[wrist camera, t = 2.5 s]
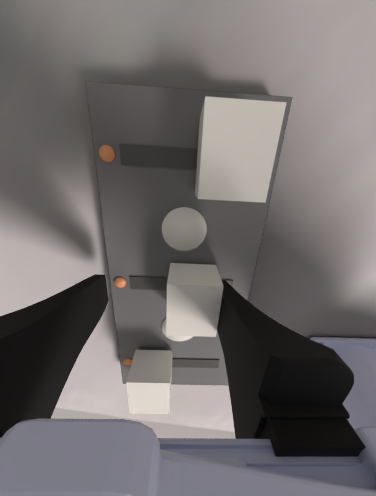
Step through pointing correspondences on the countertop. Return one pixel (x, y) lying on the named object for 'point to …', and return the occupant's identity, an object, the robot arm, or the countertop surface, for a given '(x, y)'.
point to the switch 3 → (237, 148)
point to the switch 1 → (150, 382)
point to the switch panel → (166, 217)
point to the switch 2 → (193, 300)
